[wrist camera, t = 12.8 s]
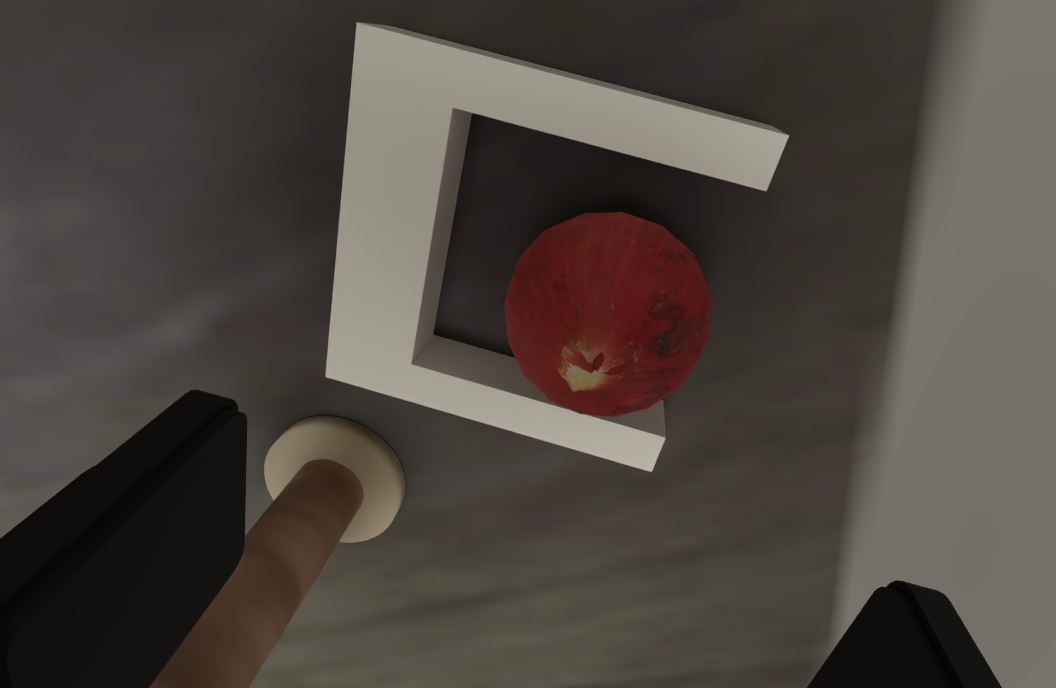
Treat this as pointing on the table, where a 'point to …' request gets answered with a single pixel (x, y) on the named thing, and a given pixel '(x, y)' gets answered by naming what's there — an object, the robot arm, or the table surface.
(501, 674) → the table surface
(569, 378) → the pomegranate
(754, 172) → the notched board
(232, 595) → the spool
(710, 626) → the table surface
